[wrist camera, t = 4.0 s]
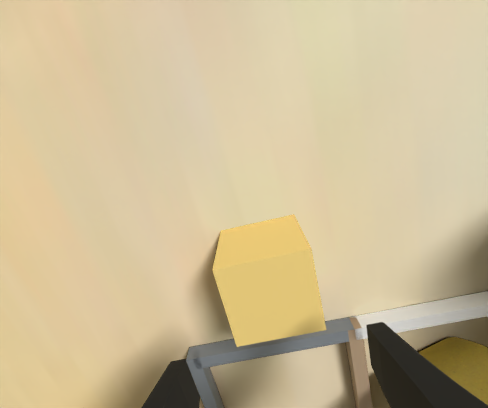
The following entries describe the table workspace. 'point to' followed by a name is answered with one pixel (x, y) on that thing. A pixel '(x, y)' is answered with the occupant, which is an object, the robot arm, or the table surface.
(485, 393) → the flower pot
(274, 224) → the ochre block
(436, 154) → the table surface
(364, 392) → the sorting board
